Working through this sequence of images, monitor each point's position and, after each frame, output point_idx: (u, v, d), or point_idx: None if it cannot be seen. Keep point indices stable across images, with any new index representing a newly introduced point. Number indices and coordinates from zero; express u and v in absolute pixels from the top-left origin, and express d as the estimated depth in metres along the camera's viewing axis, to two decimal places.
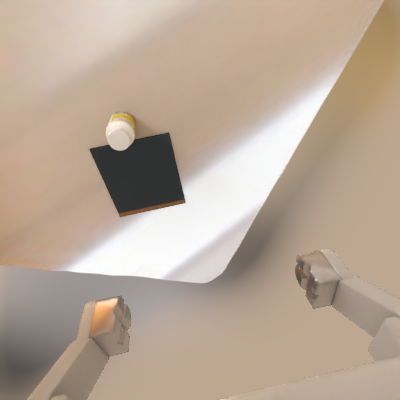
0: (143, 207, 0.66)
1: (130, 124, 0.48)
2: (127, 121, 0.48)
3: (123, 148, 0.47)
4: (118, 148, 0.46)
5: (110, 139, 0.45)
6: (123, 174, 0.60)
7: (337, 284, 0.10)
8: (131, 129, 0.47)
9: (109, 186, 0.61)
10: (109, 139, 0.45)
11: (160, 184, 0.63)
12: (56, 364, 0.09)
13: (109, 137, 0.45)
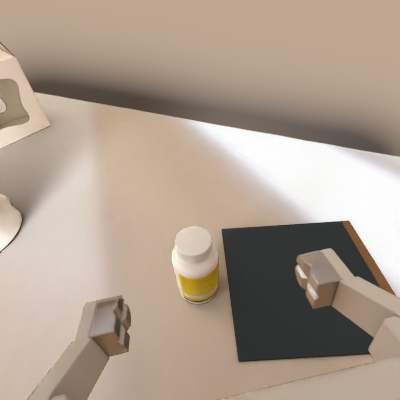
0: None
1: None
2: None
3: (208, 236, 0.27)
4: (206, 243, 0.26)
5: (187, 250, 0.25)
6: (296, 307, 0.30)
7: (337, 284, 0.10)
8: None
9: (333, 348, 0.27)
10: (187, 252, 0.25)
11: (312, 250, 0.36)
12: (56, 364, 0.09)
13: (184, 251, 0.25)
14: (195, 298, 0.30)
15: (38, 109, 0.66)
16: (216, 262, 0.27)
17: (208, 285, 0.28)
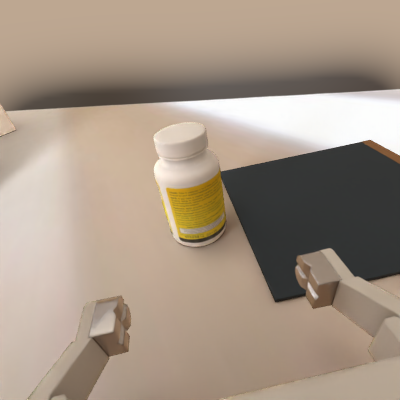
0: None
1: None
2: None
3: (199, 126, 0.19)
4: (199, 130, 0.18)
5: (173, 139, 0.17)
6: (338, 226, 0.21)
7: (337, 284, 0.10)
8: None
9: None
10: (172, 140, 0.17)
11: (338, 170, 0.28)
12: (56, 364, 0.09)
13: (167, 141, 0.17)
14: (196, 234, 0.21)
15: (0, 111, 0.60)
16: (217, 165, 0.19)
17: (211, 205, 0.20)
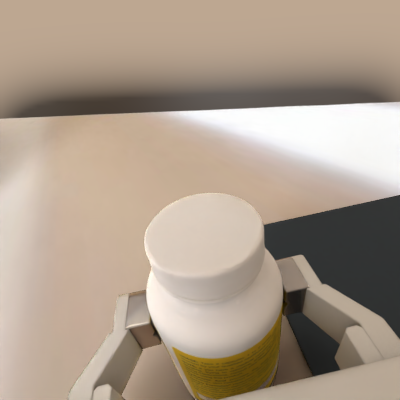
0: None
1: None
2: None
3: (246, 210, 0.09)
4: (248, 228, 0.08)
5: (190, 260, 0.07)
6: None
7: (305, 291, 0.10)
8: None
9: None
10: (189, 265, 0.07)
11: None
12: (96, 355, 0.09)
13: (177, 264, 0.07)
14: None
15: None
16: (281, 290, 0.09)
17: (265, 365, 0.10)
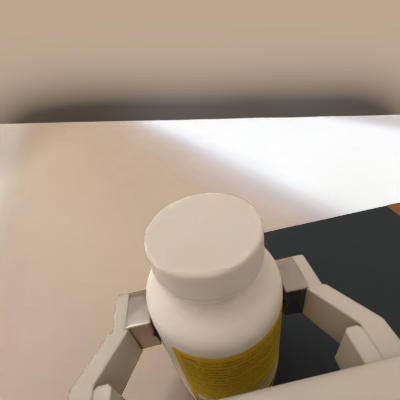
0: None
1: None
2: None
3: (246, 210, 0.09)
4: (248, 228, 0.08)
5: (190, 260, 0.07)
6: None
7: (305, 291, 0.10)
8: None
9: None
10: (189, 265, 0.07)
11: (356, 264, 0.18)
12: (96, 355, 0.09)
13: (176, 264, 0.07)
14: None
15: None
16: (281, 290, 0.09)
17: (265, 365, 0.10)
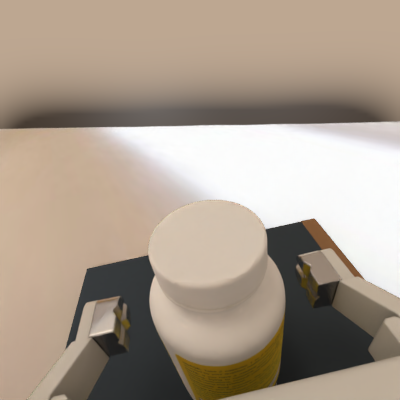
0: None
1: None
2: None
3: (249, 218, 0.09)
4: (252, 236, 0.08)
5: (194, 270, 0.07)
6: None
7: (337, 284, 0.10)
8: None
9: None
10: (193, 275, 0.07)
11: None
12: (56, 364, 0.09)
13: (181, 274, 0.07)
14: None
15: None
16: (284, 297, 0.09)
17: (267, 371, 0.10)
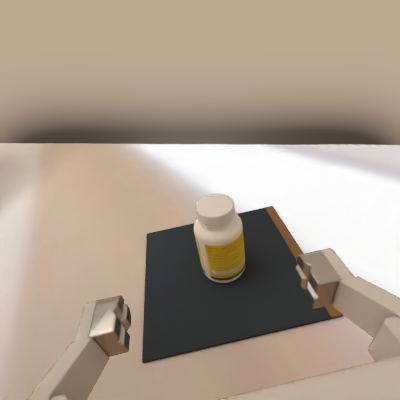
0: (295, 264, 0.30)
1: None
2: None
3: (229, 199, 0.26)
4: (229, 204, 0.25)
5: (211, 213, 0.24)
6: (210, 296, 0.28)
7: (337, 284, 0.10)
8: None
9: (244, 331, 0.25)
10: (211, 214, 0.24)
11: None
12: (56, 364, 0.09)
13: (207, 214, 0.24)
14: (224, 275, 0.28)
15: None
16: (241, 227, 0.26)
17: (236, 255, 0.27)
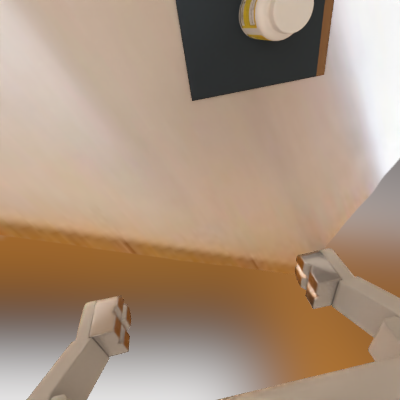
0: (319, 21, 0.33)
1: None
2: None
3: (310, 1, 0.23)
4: (307, 13, 0.24)
5: (287, 26, 0.24)
6: (241, 50, 0.34)
7: (337, 284, 0.10)
8: None
9: (260, 82, 0.36)
10: (287, 28, 0.24)
11: None
12: (56, 364, 0.09)
13: (283, 27, 0.24)
14: None
15: None
16: None
17: None
